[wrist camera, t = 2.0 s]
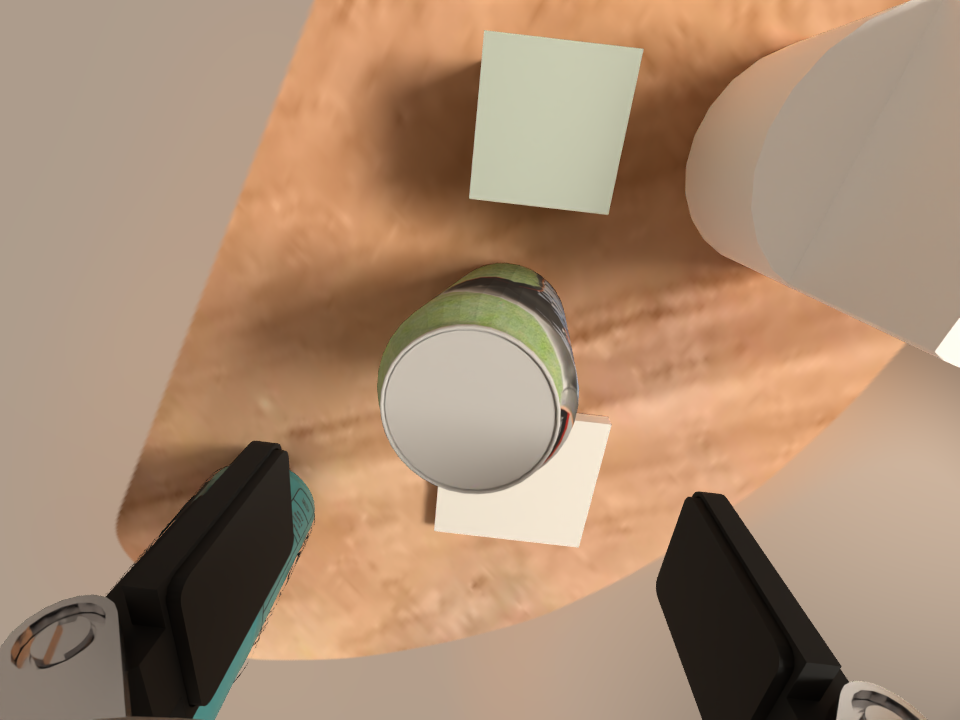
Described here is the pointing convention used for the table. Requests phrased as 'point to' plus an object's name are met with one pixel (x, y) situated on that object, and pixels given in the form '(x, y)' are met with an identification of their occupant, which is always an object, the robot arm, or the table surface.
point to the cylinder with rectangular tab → (846, 171)
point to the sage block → (551, 121)
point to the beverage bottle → (301, 526)
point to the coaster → (536, 495)
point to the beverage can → (481, 382)
